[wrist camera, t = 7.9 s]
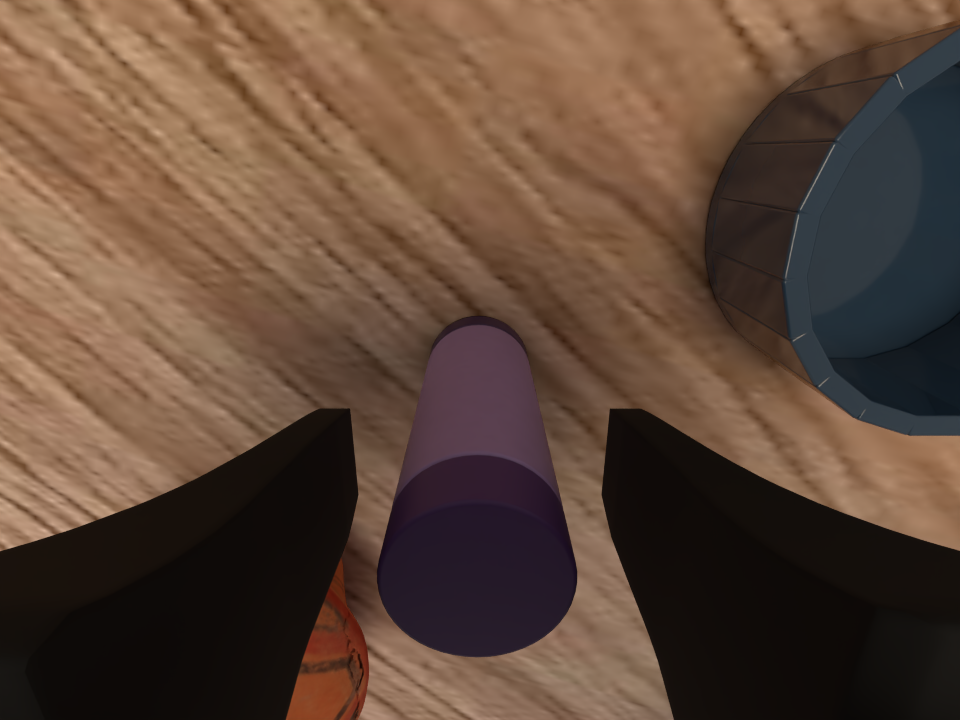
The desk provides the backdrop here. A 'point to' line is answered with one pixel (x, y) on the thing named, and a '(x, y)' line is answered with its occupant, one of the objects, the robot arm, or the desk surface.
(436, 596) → the glue stick
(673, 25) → the desk surface
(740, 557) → the robot arm
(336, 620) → the pot
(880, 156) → the desk cup
